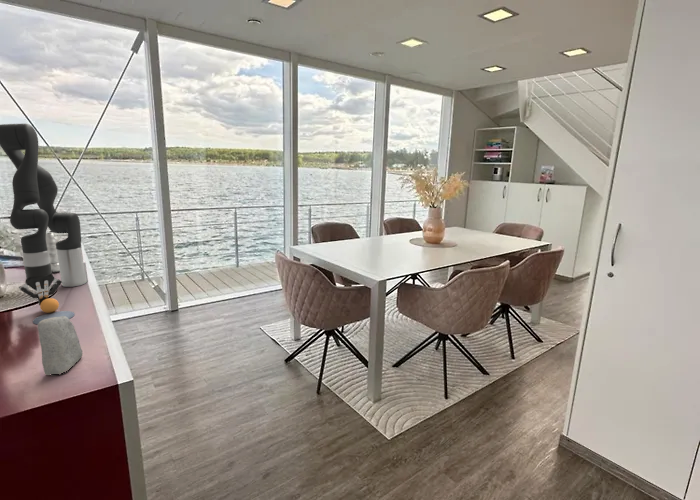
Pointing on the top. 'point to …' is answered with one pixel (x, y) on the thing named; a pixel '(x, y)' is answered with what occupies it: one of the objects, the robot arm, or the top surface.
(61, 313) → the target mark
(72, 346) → the decorative stone
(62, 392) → the top surface
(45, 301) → the ball
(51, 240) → the plastic bottle
